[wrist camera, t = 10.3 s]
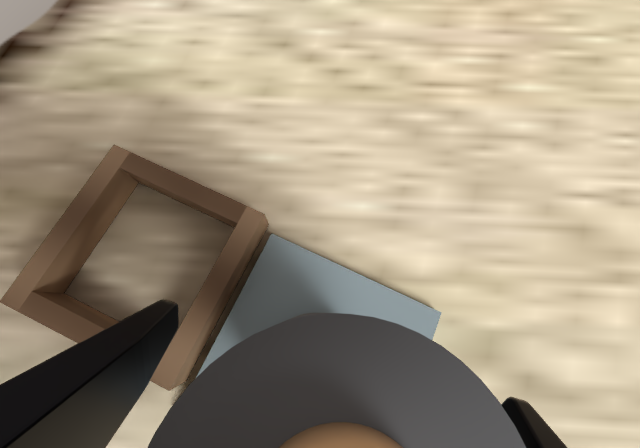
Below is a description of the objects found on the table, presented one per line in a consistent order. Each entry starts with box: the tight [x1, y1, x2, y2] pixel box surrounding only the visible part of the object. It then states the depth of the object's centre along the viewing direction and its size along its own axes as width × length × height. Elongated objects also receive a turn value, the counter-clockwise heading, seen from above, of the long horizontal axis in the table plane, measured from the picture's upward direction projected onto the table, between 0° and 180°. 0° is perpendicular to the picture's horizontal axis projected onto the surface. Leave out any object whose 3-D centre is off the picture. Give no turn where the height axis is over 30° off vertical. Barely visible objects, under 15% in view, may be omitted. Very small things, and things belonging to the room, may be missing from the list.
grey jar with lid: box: [148, 313, 526, 448], centre depth 9 cm, size 5×5×14 cm
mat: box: [196, 234, 441, 378], centre depth 16 cm, size 10×10×1 cm
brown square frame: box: [0, 145, 269, 391], centre depth 16 cm, size 9×9×2 cm
